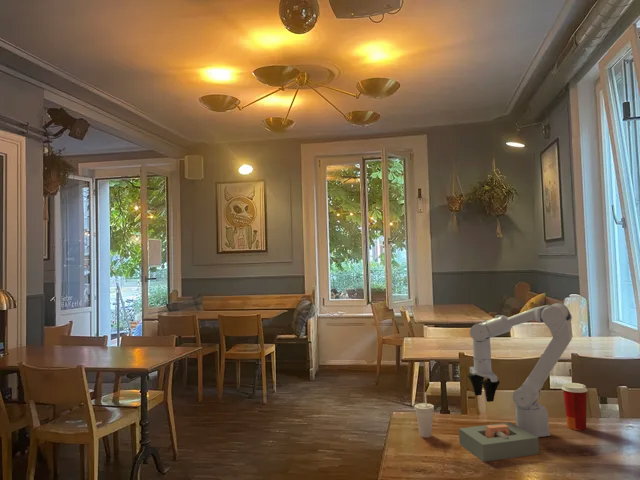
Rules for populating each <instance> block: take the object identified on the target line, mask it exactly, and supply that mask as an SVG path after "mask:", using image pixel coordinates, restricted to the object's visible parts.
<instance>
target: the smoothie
mask: <svg viewBox="0 0 640 480" xmlns="http://www.w3.org/2000/svg"><path fill="white" fill-rule="evenodd" d="M414 410H415V415H416V421H417V427H418V434H419V437H421V438H427V439H428V438H430V437H432V428H433V427H432V426H433V417H434V416H433V415H434V410H435V406H434V405H433V404H432V403H427V392H424V402H420V403H416V404H415V405H414Z"/></svg>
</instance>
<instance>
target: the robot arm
mask: <svg viewBox="0 0 640 480" xmlns="http://www.w3.org/2000/svg"><path fill="white" fill-rule="evenodd" d="M572 319H573V316H572V314H571V312H570V309H569V308H568V307H567V306H566V305H565V304H564V303H562V302H555V303H552V304H551V305H550V304H546V305H541V306H536V307H533V308H530V309H528V310H524V311H523V312H520V313H517V314H514V315H512V316H506V315H503V314H502V315H501V314H498V315H495V316H494V317H493V318H490V319H488V320H487V319H483V320H482V322H479V323H475V324H473V326H472V325H471V326H472V327H470V329H469V335H470V337H471V339H472V350H473V351H472V354H473V366H469V373H470V374H467V378H468V379H469V381H470V383H471V385H472V389H473V391H474V396H477V397H478V396H482V395H483V394H482V393H483V390H484V392H485V400H486V402H488V403H490V402H494V400H495V395H496V392H497V389H498V387H499V385H500V380H498V375H497V374H496V373H494V372H493V370H492V347H491V338H495V337H497V336H501V335H504V334H507V333H509V332H511V330H512V328H513V327H514V326H517V325H521V324H525V323H528V322H531V321H536V322H537V323H538V322H539V323H542V322H543V323H544V325H545V326H546V327H547V328H548V329H549V331H550V333H551V336H552V338H551V339H550V341H549V343H548V345H547V346H546V348H545V349H544V351H543V352H542V355H541V356H540V358H539V359H538V361H537V363H536V364H535V366H534V367H533V369H532V370H531V372H530V373H529V375H528V376H527V378H526V379H525V380H524V382H523V383H522V384H521V386H520V387H519V388H517V389H515V390H514V391H513V392H512V400H513V402H514V404H515V408H514V409H515V423H516V424H515V425H516V426H518V427H520V428H522V429H524V430H525V431H527V432H529V433H531V434H533V435H535V436H536V437H538V438H541V437H550V436H552V434H551V433H550V429H549V428H550V426H549V413H548V410H547V408H546V406H544V405H543V404H539V402H538V400H540V397H541V390H542V389H543V387H544V383H545V382H546V380H547V379H548V377H549V376H550V374H551V373H552V371H553V370H554V368H555V366H556V365H557V363H558V361H559V360H560V359H561V357H562V355H563V354H564V352H565V350H566V349H567V348H568V346H569V344H570V343H571V342H572V340H573V339H572V338H573V331H572V329H573V328H572ZM484 379H485V380H484ZM483 388H484V389H483Z"/></svg>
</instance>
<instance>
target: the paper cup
mask: <svg viewBox="0 0 640 480" xmlns="http://www.w3.org/2000/svg"><path fill="white" fill-rule="evenodd" d="M561 390H562V392H563V402H564V411H565V419H566V426H567V428H568V429H569V428H570V430H572V429H573V430H572V431H577V430H579V431H580V430H582V431H585V429H586V430H587V405H588V401H587V400H588V397H587V396H588V393H587V392H588V388H587V386H586V385H585V384H582V383H577V382H566V383H563V385H562V387H561ZM580 432H581V431H580Z"/></svg>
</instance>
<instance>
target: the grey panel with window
mask: <svg viewBox="0 0 640 480" xmlns="http://www.w3.org/2000/svg"><path fill="white" fill-rule="evenodd" d="M503 424H505V425H507V426H509V431H510V435H509V436H507V435H505V434H504V433H502V432H501V431H497V432H494V438H487V437H485V429H486V426H491V425H503ZM458 437H459V441H458V442H459V445H460V446H462V447H463V448H464V449H466V450H467V451H468V452H469V453H471V454H472V455H474V456H475V457H477V458H478V459H479V460H480V461H481V462H483V463H484V462H485V463H486V462H492V461H498V460H506V459H512V458H520V457H526V456H535V455H540V447H539V443H540V442H539V437H536V436H535V435H533V434H531V433H529V432H527V431H525V430H524V429H522V428H520V427H518V426H516V424H515V423H512V422H511V421H510V422H509V421H508V422H501V423H500V422H499V423H493V424H484V425H477V426H469V427H461V428H460V427H459V428H458Z"/></svg>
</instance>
